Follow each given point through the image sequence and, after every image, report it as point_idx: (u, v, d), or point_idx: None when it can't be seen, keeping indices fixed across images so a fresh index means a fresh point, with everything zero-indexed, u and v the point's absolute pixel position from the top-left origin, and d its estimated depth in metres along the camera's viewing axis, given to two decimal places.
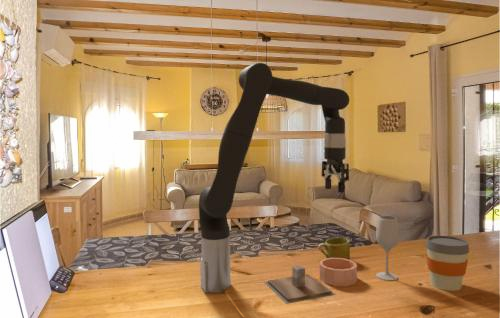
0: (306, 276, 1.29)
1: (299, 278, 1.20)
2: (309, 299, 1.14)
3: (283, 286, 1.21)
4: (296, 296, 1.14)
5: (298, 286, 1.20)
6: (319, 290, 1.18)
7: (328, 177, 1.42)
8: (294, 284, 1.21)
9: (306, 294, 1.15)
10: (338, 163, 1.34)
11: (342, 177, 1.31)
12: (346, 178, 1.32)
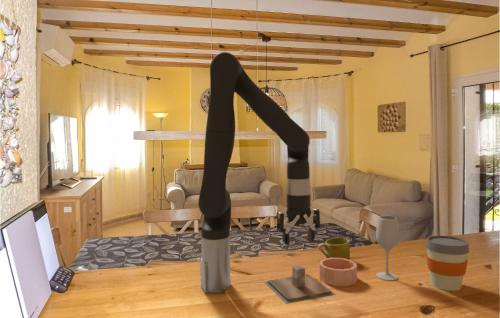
0: (306, 276, 1.29)
1: (299, 278, 1.20)
2: (309, 299, 1.14)
3: (283, 286, 1.21)
4: (296, 296, 1.14)
5: (298, 286, 1.20)
6: (319, 290, 1.18)
7: None
8: (294, 284, 1.21)
9: (306, 294, 1.15)
10: (310, 210, 1.21)
11: (318, 224, 1.22)
12: None
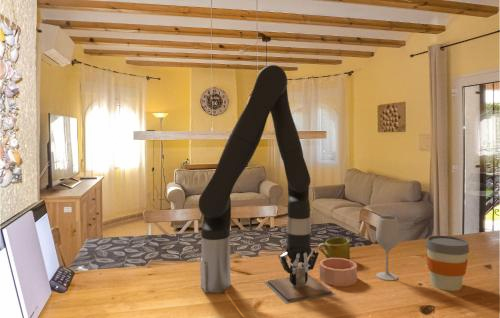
0: None
1: (299, 278, 1.20)
2: (309, 299, 1.14)
3: (283, 286, 1.21)
4: (296, 296, 1.14)
5: (298, 286, 1.20)
6: (319, 290, 1.18)
7: None
8: None
9: (306, 294, 1.15)
10: None
11: (312, 266, 1.22)
12: None
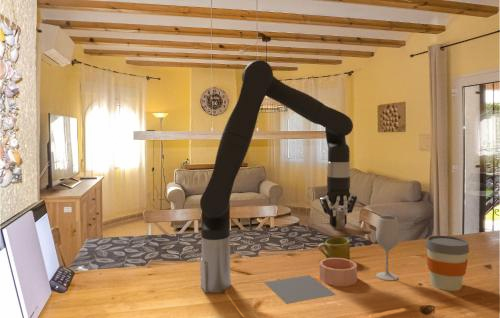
0: None
1: (339, 220, 1.26)
2: (309, 299, 1.14)
3: (323, 228, 1.27)
4: (338, 234, 1.20)
5: (338, 228, 1.26)
6: (359, 230, 1.24)
7: None
8: None
9: (347, 233, 1.21)
10: (349, 193, 1.28)
11: (351, 209, 1.28)
12: None
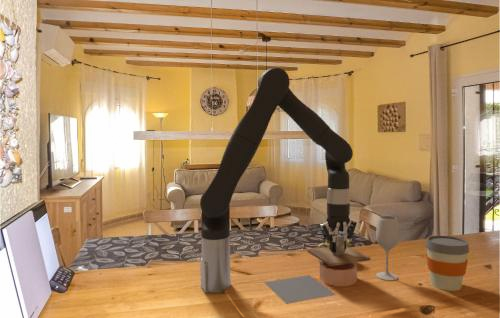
0: None
1: (338, 246, 1.27)
2: (309, 299, 1.14)
3: (323, 254, 1.28)
4: (338, 261, 1.21)
5: (338, 254, 1.27)
6: (358, 257, 1.25)
7: None
8: None
9: (347, 260, 1.22)
10: (349, 219, 1.28)
11: (351, 235, 1.29)
12: None
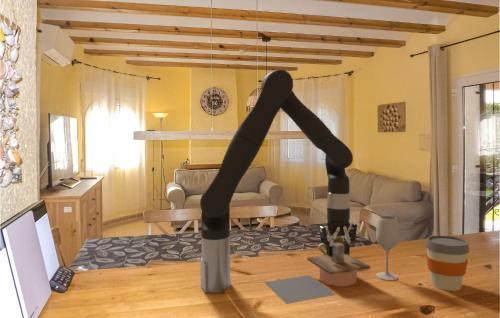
0: None
1: (338, 254, 1.27)
2: (309, 299, 1.14)
3: (323, 262, 1.28)
4: (338, 269, 1.21)
5: (338, 262, 1.27)
6: (358, 265, 1.25)
7: None
8: (333, 260, 1.28)
9: (347, 268, 1.22)
10: (349, 223, 1.28)
11: (354, 238, 1.29)
12: None
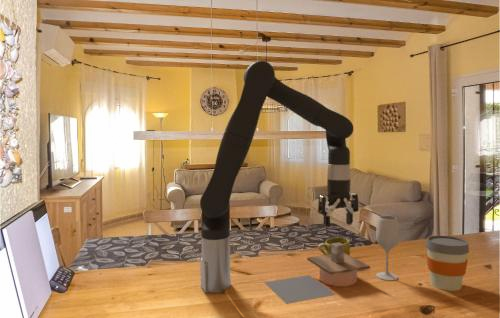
0: None
1: (338, 254, 1.27)
2: (309, 299, 1.14)
3: (323, 262, 1.28)
4: (338, 269, 1.21)
5: (338, 262, 1.27)
6: (358, 265, 1.25)
7: None
8: (333, 260, 1.28)
9: (347, 268, 1.22)
10: (349, 195, 1.28)
11: (357, 208, 1.29)
12: None
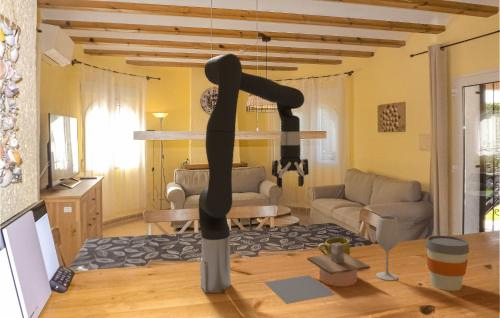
0: None
1: (338, 254, 1.27)
2: (309, 299, 1.14)
3: (323, 262, 1.28)
4: (338, 269, 1.21)
5: (338, 262, 1.27)
6: (358, 265, 1.25)
7: None
8: (333, 260, 1.28)
9: (347, 268, 1.22)
10: (300, 159, 1.43)
11: (307, 171, 1.44)
12: None
